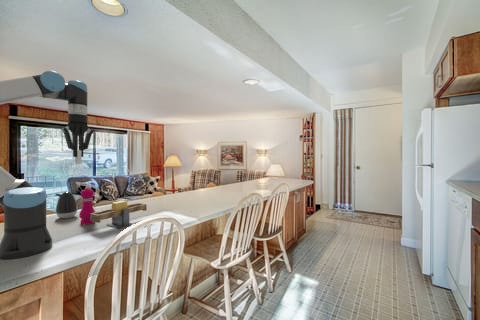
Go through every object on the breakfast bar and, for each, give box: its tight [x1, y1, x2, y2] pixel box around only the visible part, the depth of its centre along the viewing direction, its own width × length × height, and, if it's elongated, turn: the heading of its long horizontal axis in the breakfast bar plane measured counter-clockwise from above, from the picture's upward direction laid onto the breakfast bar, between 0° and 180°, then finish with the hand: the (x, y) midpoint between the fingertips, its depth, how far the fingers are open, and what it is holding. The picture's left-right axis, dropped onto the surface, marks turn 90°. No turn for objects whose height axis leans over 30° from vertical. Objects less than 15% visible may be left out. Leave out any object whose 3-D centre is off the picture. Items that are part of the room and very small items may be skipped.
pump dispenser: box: [55, 191, 78, 220], centre depth 131 cm, size 10×10×15 cm
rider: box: [111, 200, 128, 211], centre depth 116 cm, size 6×4×4 cm, turn 149°
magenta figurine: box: [78, 185, 96, 226], centre depth 120 cm, size 7×7×20 cm
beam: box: [90, 202, 147, 224], centre depth 117 cm, size 26×7×4 cm, turn 149°
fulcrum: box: [106, 209, 134, 230], centre depth 117 cm, size 8×12×9 cm, turn 59°
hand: (78, 163), depth 107 cm, fingers closed
